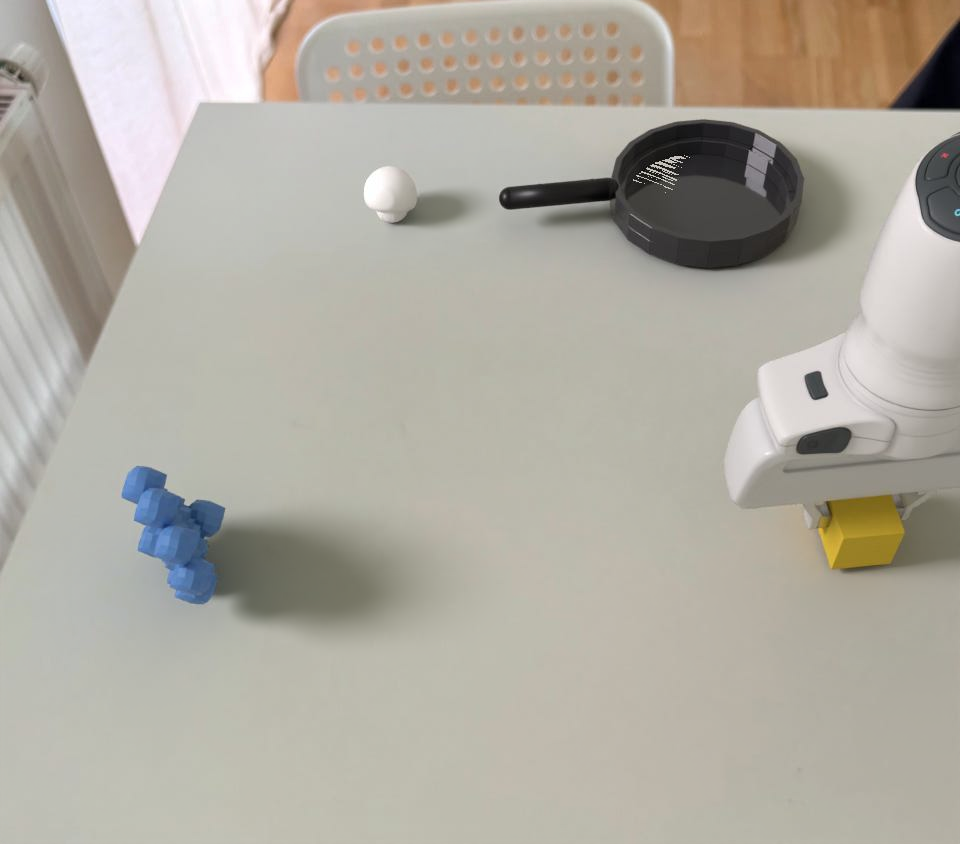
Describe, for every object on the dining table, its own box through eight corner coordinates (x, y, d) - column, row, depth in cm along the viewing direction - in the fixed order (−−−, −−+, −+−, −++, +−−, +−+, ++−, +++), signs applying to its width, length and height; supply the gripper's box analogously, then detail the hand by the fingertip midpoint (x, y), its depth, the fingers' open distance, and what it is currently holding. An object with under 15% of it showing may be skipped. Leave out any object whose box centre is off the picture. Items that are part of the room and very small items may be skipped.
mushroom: (361, 230, 104) (354, 185, 100) (375, 197, 106) (368, 152, 102) (412, 235, 103) (407, 191, 99) (424, 202, 106) (420, 157, 101)
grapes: (277, 609, 81) (240, 513, 71) (192, 653, 79) (142, 561, 69) (213, 503, 87) (171, 400, 77) (133, 541, 85) (79, 442, 75)
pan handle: (616, 190, 102) (617, 172, 100) (619, 204, 101) (621, 186, 99) (498, 201, 102) (497, 183, 100) (500, 215, 101) (499, 197, 99)
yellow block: (866, 493, 84) (879, 460, 80) (890, 563, 80) (905, 532, 77) (808, 499, 84) (819, 466, 80) (830, 569, 80) (843, 538, 77)
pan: (772, 143, 108) (778, 111, 105) (816, 262, 99) (825, 230, 96) (598, 159, 108) (599, 128, 105) (626, 280, 98) (628, 249, 96)
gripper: (1050, 335, 71) (980, 469, 82) (734, 367, 71) (707, 496, 82) (1089, 409, 67) (1010, 538, 79) (756, 443, 67) (725, 567, 79)
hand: (853, 517), depth 80 cm, fingers closed on yellow block, 4 cm apart
